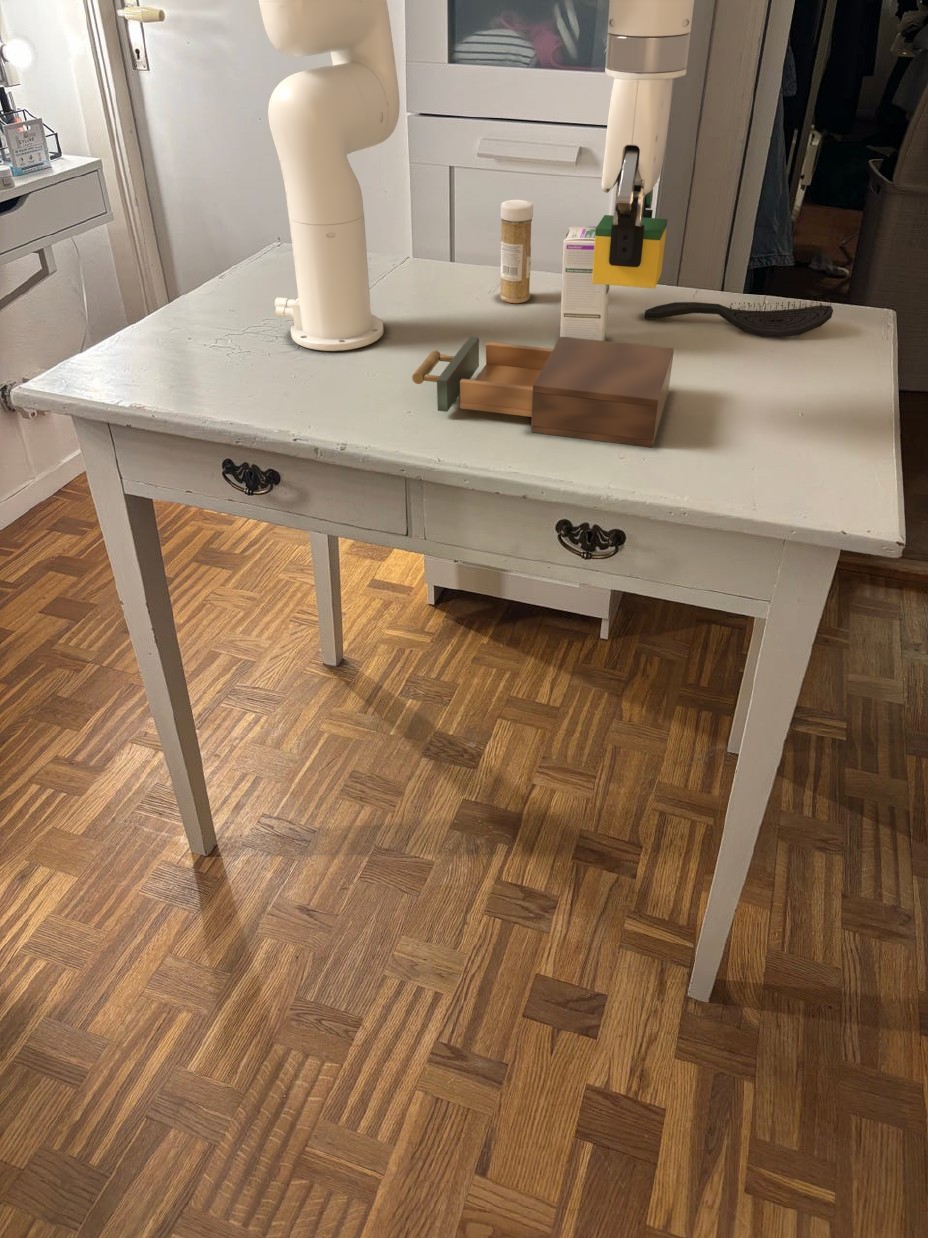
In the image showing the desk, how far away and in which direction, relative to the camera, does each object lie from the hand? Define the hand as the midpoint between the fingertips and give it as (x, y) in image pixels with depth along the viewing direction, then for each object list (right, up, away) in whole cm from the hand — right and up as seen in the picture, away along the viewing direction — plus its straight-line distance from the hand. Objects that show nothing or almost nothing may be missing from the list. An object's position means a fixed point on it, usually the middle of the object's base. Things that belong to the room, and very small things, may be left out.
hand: (629, 255), depth 98 cm
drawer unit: (-1, -14, +11) cm, 18 cm away
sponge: (0, -2, +2) cm, 2 cm away
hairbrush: (+20, +3, +33) cm, 39 cm away
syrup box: (-2, -2, +27) cm, 27 cm away
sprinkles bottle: (-10, +9, +42) cm, 44 cm away
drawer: (-14, -11, +14) cm, 23 cm away
